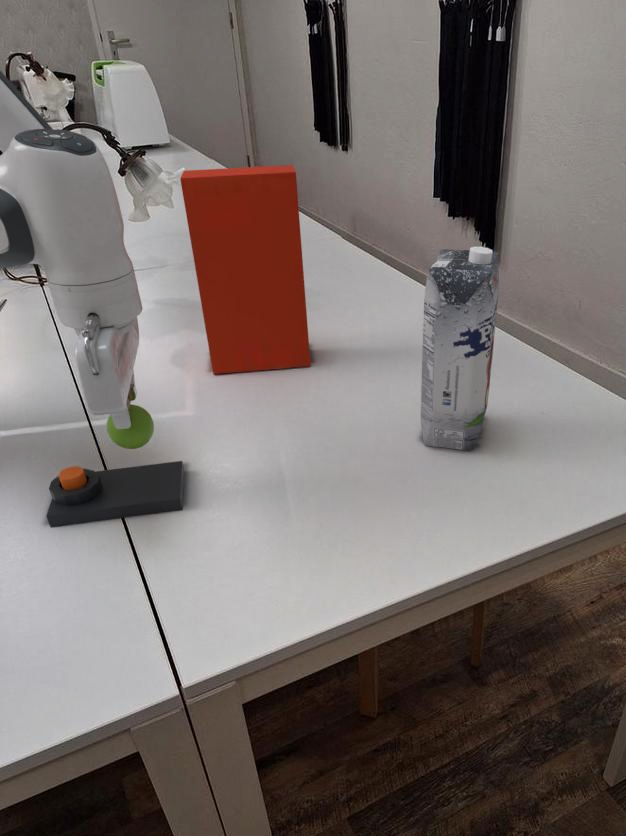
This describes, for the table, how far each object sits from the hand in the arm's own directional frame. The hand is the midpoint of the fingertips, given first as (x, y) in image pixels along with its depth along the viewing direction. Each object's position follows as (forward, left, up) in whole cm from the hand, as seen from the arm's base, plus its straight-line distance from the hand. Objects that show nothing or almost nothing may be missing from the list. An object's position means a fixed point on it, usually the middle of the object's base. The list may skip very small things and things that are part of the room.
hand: (127, 411), depth 79 cm
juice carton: (+43, +5, -13) cm, 46 cm away
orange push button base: (-4, 0, -12) cm, 13 cm away
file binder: (+17, +38, -13) cm, 44 cm away
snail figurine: (0, 0, -5) cm, 5 cm away
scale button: (-9, 0, -9) cm, 13 cm away
